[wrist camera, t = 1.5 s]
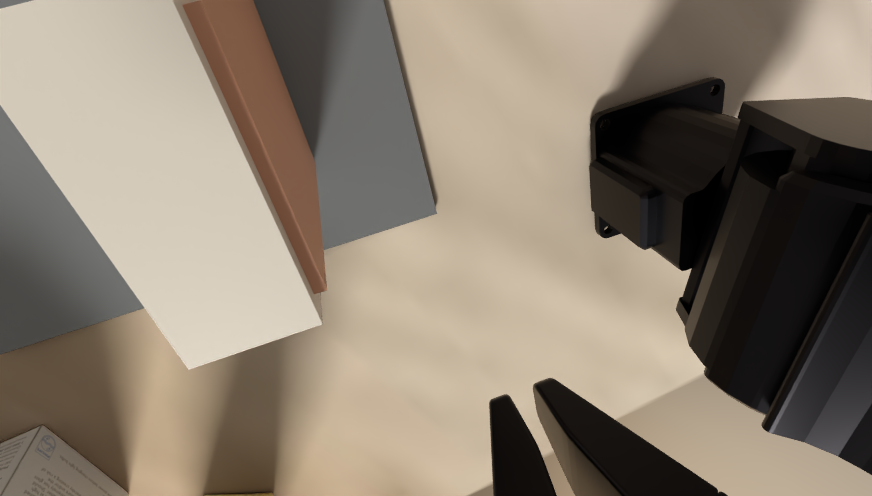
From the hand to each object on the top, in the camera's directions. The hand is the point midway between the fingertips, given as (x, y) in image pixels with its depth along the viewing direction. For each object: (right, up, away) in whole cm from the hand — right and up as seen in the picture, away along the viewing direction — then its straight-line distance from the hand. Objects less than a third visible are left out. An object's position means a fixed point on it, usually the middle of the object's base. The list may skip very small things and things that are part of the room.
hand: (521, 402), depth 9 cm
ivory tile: (-9, +9, +8) cm, 14 cm away
